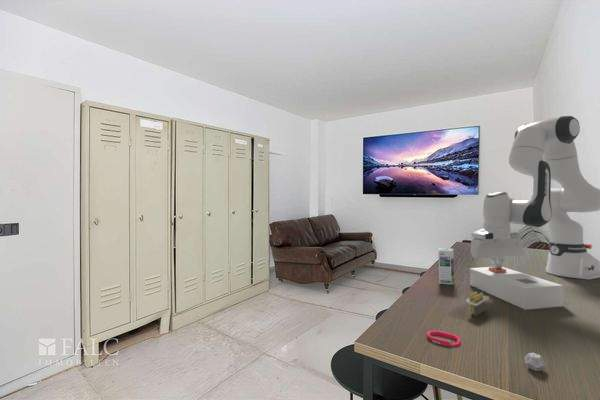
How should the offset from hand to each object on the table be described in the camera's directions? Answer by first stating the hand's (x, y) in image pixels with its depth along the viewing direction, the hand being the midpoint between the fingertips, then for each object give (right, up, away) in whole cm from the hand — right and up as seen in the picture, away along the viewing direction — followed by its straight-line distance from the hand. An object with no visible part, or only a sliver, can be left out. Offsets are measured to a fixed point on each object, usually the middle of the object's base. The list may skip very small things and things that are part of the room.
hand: (497, 268), depth 116 cm
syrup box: (-15, -9, +10) cm, 20 cm away
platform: (-21, -10, -21) cm, 31 cm away
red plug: (0, -6, 0) cm, 6 cm away
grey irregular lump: (-26, -11, -51) cm, 58 cm away
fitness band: (-39, -11, -37) cm, 55 cm away
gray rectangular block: (+2, -7, -13) cm, 15 cm away
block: (+1, -8, -6) cm, 10 cm away
